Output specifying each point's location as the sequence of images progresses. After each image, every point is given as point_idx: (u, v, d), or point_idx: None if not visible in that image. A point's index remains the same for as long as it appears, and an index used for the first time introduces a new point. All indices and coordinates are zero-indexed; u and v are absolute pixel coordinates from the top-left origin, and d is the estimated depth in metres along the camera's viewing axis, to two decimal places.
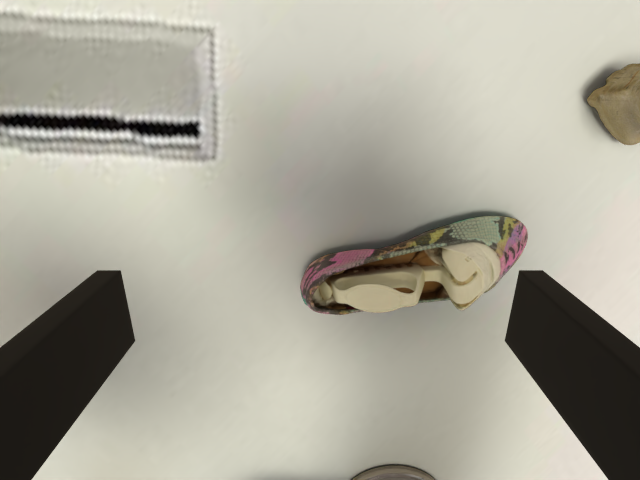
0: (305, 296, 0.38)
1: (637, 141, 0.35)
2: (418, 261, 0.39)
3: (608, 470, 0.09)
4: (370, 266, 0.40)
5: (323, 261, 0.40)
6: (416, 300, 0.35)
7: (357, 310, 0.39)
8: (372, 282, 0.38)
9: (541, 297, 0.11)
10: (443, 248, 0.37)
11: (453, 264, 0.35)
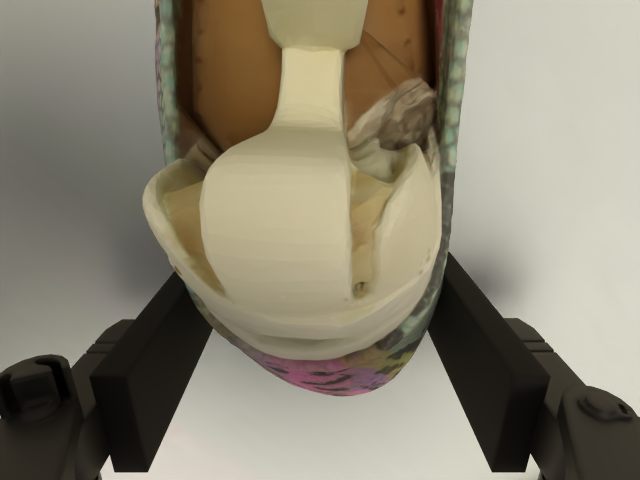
0: None
1: None
2: (358, 48, 0.09)
3: (469, 414, 0.10)
4: None
5: None
6: None
7: None
8: None
9: None
10: (434, 157, 0.08)
11: (430, 187, 0.06)
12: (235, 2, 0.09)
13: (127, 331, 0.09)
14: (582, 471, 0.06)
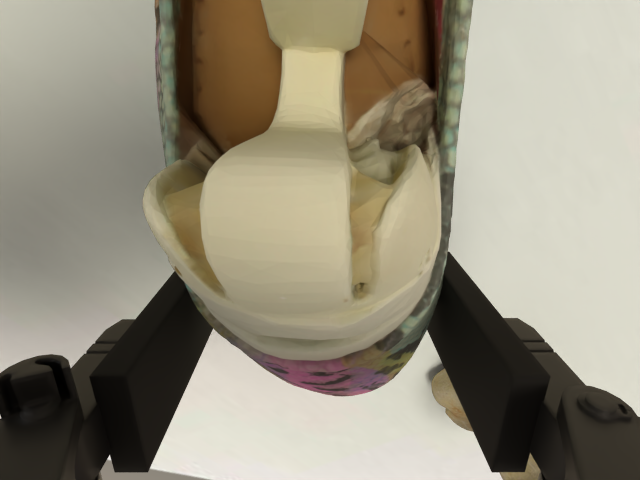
0: None
1: (445, 399, 0.27)
2: (357, 48, 0.09)
3: (469, 414, 0.10)
4: None
5: None
6: None
7: None
8: None
9: None
10: (433, 158, 0.08)
11: (429, 188, 0.06)
12: (235, 3, 0.09)
13: (127, 331, 0.09)
14: (581, 471, 0.06)
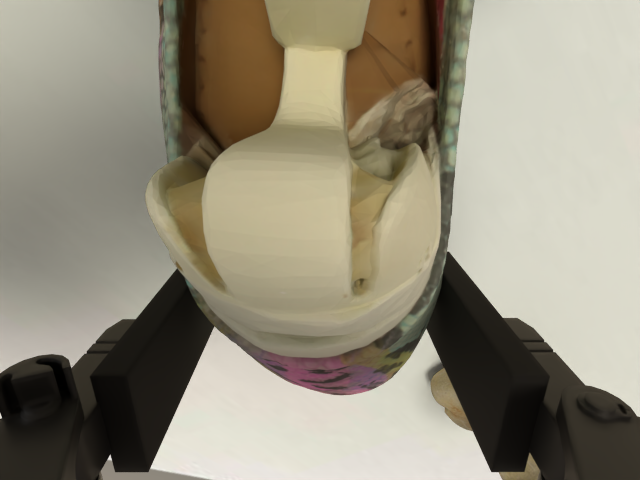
0: None
1: (444, 398, 0.27)
2: (360, 48, 0.09)
3: (469, 414, 0.10)
4: None
5: None
6: None
7: None
8: None
9: None
10: (434, 157, 0.09)
11: (429, 186, 0.06)
12: (238, 2, 0.09)
13: (127, 331, 0.09)
14: (581, 471, 0.06)
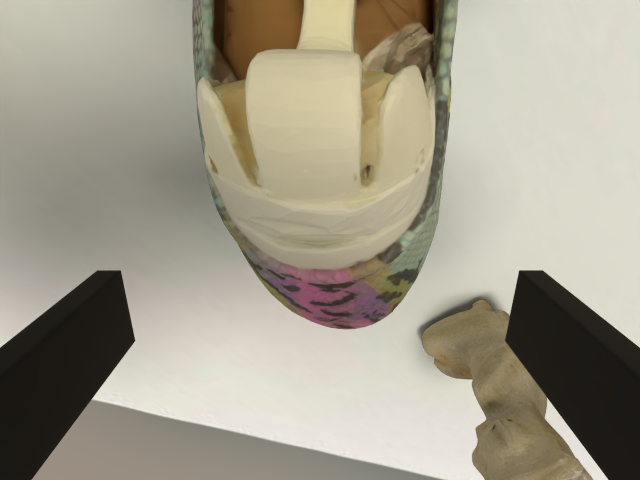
0: None
1: (433, 348, 0.31)
2: None
3: (608, 469, 0.09)
4: None
5: None
6: None
7: None
8: None
9: (541, 297, 0.11)
10: (430, 87, 0.10)
11: (424, 92, 0.08)
12: None
13: None
14: None
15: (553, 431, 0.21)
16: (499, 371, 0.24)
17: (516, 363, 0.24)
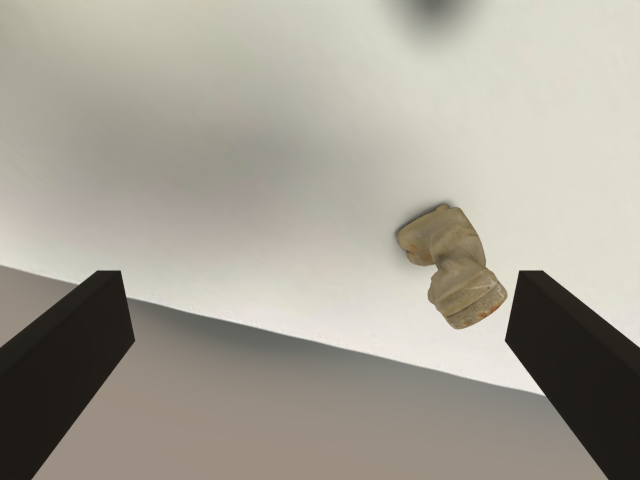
0: None
1: (404, 239, 0.39)
2: None
3: (608, 470, 0.09)
4: None
5: None
6: None
7: None
8: None
9: (541, 297, 0.11)
10: None
11: None
12: None
13: None
14: None
15: (481, 264, 0.30)
16: (447, 235, 0.33)
17: (460, 231, 0.33)
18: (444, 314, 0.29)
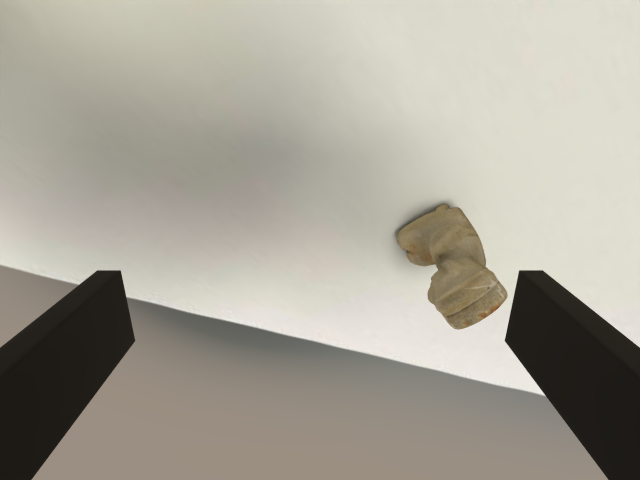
0: None
1: (404, 239, 0.39)
2: None
3: (608, 470, 0.09)
4: None
5: None
6: None
7: None
8: None
9: (541, 297, 0.11)
10: None
11: None
12: None
13: None
14: None
15: (481, 264, 0.30)
16: (447, 235, 0.33)
17: (460, 231, 0.33)
18: (444, 314, 0.29)
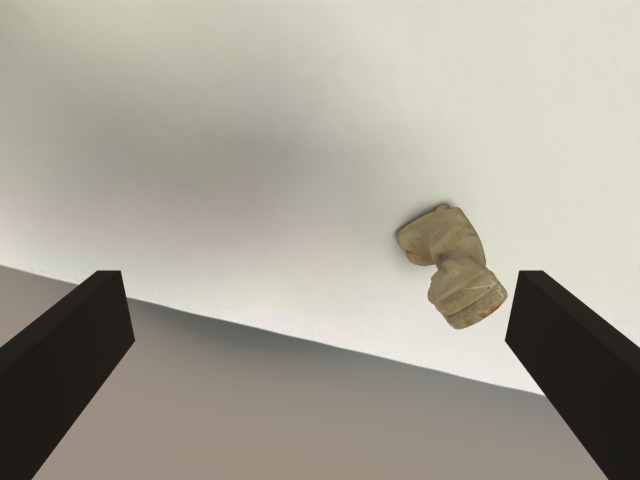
0: None
1: (404, 239, 0.39)
2: None
3: (608, 470, 0.09)
4: None
5: None
6: None
7: None
8: None
9: (541, 297, 0.11)
10: None
11: None
12: None
13: None
14: None
15: (481, 264, 0.30)
16: (447, 235, 0.33)
17: (460, 231, 0.33)
18: (444, 314, 0.29)
